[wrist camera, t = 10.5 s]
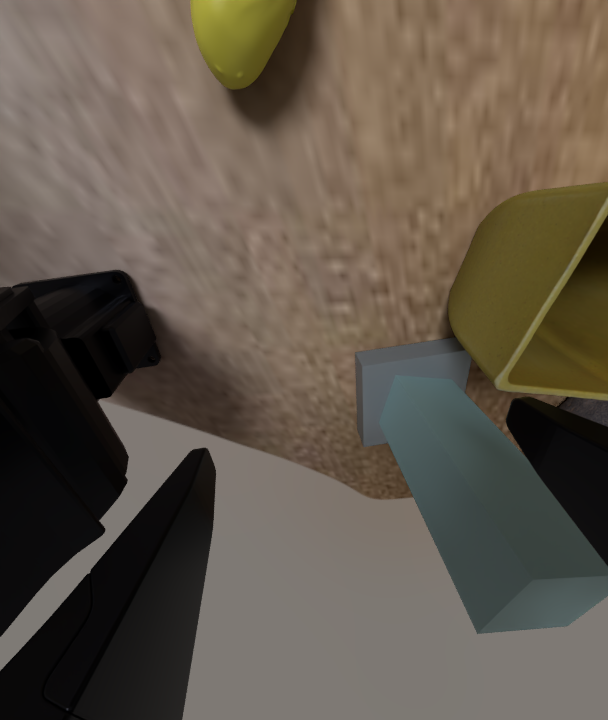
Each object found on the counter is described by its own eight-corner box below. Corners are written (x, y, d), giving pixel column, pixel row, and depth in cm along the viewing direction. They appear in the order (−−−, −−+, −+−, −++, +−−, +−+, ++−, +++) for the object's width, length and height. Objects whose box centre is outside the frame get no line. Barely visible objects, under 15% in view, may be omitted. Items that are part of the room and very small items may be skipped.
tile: (357, 430, 27) (363, 447, 25) (355, 352, 23) (362, 366, 21) (444, 416, 27) (456, 431, 25) (458, 336, 23) (473, 349, 21)
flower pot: (515, 332, 23) (639, 406, 16) (413, 318, 22) (493, 392, 14) (587, 208, 19) (805, 224, 11) (466, 179, 17) (624, 174, 10)
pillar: (378, 422, 24) (477, 633, 13) (395, 375, 22) (532, 579, 10) (430, 425, 24) (567, 626, 13) (451, 379, 22) (636, 574, 11)
